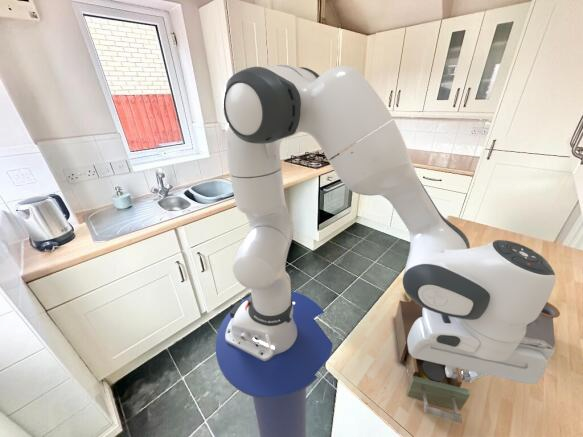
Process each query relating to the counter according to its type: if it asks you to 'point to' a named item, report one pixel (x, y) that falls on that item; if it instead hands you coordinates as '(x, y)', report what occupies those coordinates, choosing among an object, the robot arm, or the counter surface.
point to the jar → (432, 371)
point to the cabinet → (405, 324)
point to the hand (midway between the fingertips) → (457, 376)
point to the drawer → (436, 390)
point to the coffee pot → (543, 325)
